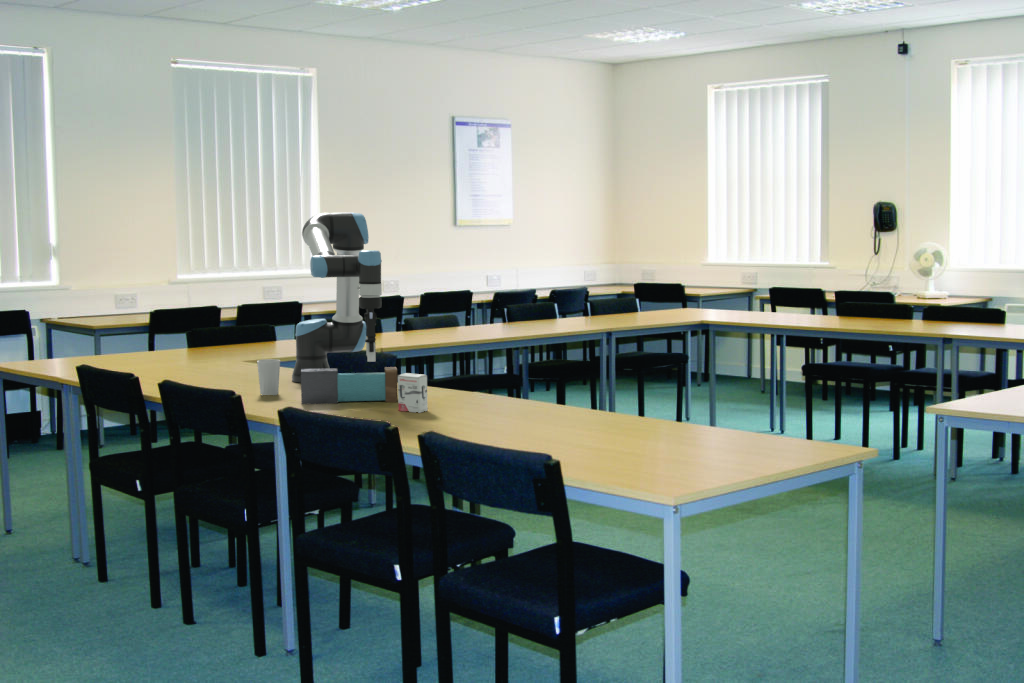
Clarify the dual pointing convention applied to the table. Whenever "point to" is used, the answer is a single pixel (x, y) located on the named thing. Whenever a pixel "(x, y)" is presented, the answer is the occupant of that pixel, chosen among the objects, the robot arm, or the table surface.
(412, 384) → the ink box
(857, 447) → the table surface
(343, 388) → the teal rectangular box
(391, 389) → the socket
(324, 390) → the dark gray box
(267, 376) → the cup
